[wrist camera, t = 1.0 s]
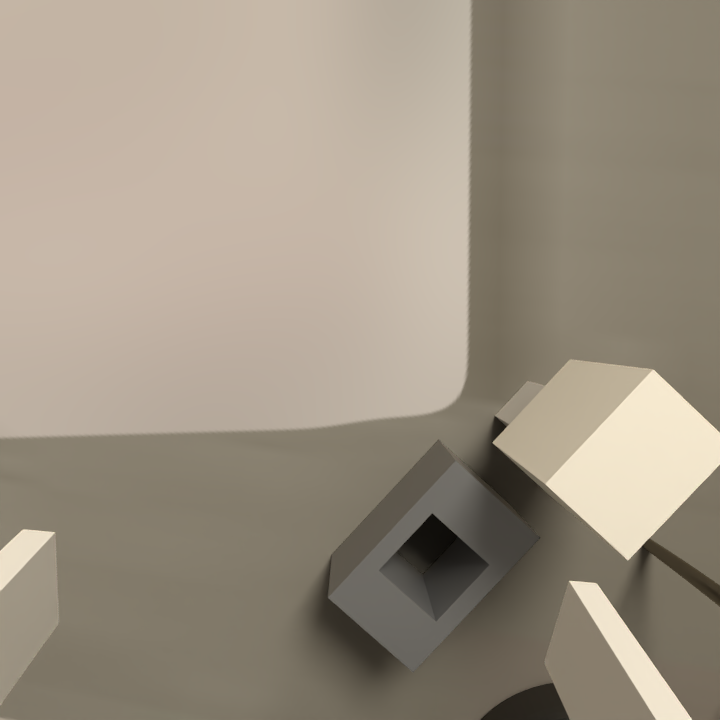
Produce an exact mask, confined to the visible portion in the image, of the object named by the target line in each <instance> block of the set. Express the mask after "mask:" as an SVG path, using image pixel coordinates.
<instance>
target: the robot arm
mask: <svg viewBox="0 0 720 720" xmlns="http://www.w3.org/2000/svg"><path fill="white" fill-rule="evenodd" d="M58 624H59V609H58V585H57V561H56V536H55V532H46V531H35V530H25V529H23V530H22V531H21V532H20V533H19V534H18V535H17V536H15V537H14V538H13V539H12V540H11V541H10V542H9V543H8V544H7V545H6V546H5V547H4V548H3V549H2V550H1V551H0V705H1V704H2V702H3V701H4V699H5V698H6V697H7V695H8V694H9V692H10V691H11V690H12V688H13V687H14V685H15V684H16V683H17V681H18V680H19V678H20V677H21V676H22V674H23V673H24V671H25V670H26V669H27V667H28V666H29V664H30V663H31V662H32V660H33V659H34V657H35V656H36V655H37V653H38V652H39V650H40V649H41V648H42V646H43V645H44V643H45V642H46V641H47V639H48V638H49V636H50V635H51V634H52V632H53V631H54V629H55V628H56V627H57V625H58ZM544 664H545V666H546V668H547V670H548V672H549V675H550V677H551V679H552V681H553V683H552V684H546V685H541V686H538V687H534V688H531V689H528V690H525V691H523V692H521V693H519V694H516V695H514V696H513V697H511V698H509V699H507V700H506V701H504V702H502V703H501V704H500V705H498V706H497V707H495V708H494V709H493V710H492V711H491V712H489V713H488V714H487V715H486V716H485V717H484V718H483V719H482V720H692V719H691V717H690V716H689V715H688V713H687V712H686V710H685V709H684V707H683V706H682V705H681V703H680V702H679V700H678V699H677V697H676V696H675V695H674V693H673V692H672V690H671V689H670V687H669V686H668V685H667V683H666V682H665V680H664V679H663V677H662V676H661V675H660V673H659V672H658V670H657V669H656V667H655V666H654V665H653V663H652V662H651V660H650V659H649V657H648V656H647V655H646V653H645V652H644V650H643V649H642V647H641V646H640V645H639V643H638V642H637V640H636V639H635V637H634V636H633V635H632V633H631V632H630V630H629V629H628V627H627V626H626V625H625V623H624V622H623V620H622V619H621V617H620V616H619V615H618V613H617V612H616V610H615V609H614V607H613V606H612V605H611V603H610V602H609V600H608V599H607V597H606V596H605V595H604V593H603V592H602V590H601V589H600V587H599V586H598V585H597V583H588V582H577V581H569V582H568V585H567V588H566V592H565V595H564V598H563V602H562V605H561V608H560V612H559V615H558V618H557V622H556V625H555V628H554V631H553V635H552V638H551V641H550V645H549V648H548V651H547V655H546V658H545V661H544Z"/></svg>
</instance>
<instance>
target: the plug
mask: <svg viewBox="0 0 720 720" xmlns="http://www.w3.org/2000/svg"><path fill="white" fill-rule="evenodd" d="M495 416H496V417H497V418H498V419H499V420H500V421H501V422H502V423H503V424H504V425H505V426H506V428H505V430H504V431H503V432H502V433H501V434H500V435H499V436H498V437H497V438H496V439H495V440H494V441H493V442H492V443H493V444H494V445H495V446H496V447H497V448H498V449H500V450H501V451H502V452H503V453H504V454H505V455H506V456H507V457H508V458H509V459H510V460H512V461H513V462H514V463H515V464H516V465H517V466H518V467H519V468H520V469H521V470H522V471H524V472H525V473H526V474H527V475H528V476H529V477H530V478H531V479H532V480H533V481H534V482H535V483H537V484H538V485H539V486H540V487H541V488H542V489H543V490H544V491H545V492H546V493H547V494H549V495H550V496H551V497H552V498H553V499H554V500H555V501H556V502H558V503H559V504H560V505H561V506H563V507H564V508H565V509H566V510H567V511H569V512H570V513H571V514H572V515H573V516H575V517H576V518H577V519H578V520H580V521H581V522H582V523H583V524H584V525H586V526H587V527H588V528H589V529H590V530H592V531H593V532H594V533H595V534H597V535H598V536H599V537H600V538H601V539H603V540H604V541H605V542H606V543H607V544H609V545H610V546H611V547H612V548H614V549H615V550H616V551H617V552H618V553H620V554H621V555H622V556H623V557H624V558H626V559H627V560H629V559H630V558H631V557H632V556H633V555H634V554H635V553H636V551H637V550H638V549H639V548H640V547H641V546H642V545H643V544H644V543H645V542H646V541H647V540H648V539H649V538H650V537H651V536H652V535H653V534H654V533H655V532H656V531H657V530H658V528H659V527H660V526H661V525H662V524H663V523H664V522H665V521H666V520H667V519H668V518H669V517H670V516H671V515H672V514H673V513H674V512H675V511H676V510H677V509H678V508H679V507H680V505H681V504H682V503H683V502H684V501H685V500H686V499H687V498H688V497H689V496H690V495H691V494H692V493H693V492H694V491H695V490H696V489H697V488H698V487H699V486H700V485H701V483H702V482H703V481H704V480H705V479H706V478H707V477H708V476H709V475H710V474H711V473H712V472H713V471H714V470H715V469H716V468H717V467H718V466H719V465H720V433H719V432H718V431H717V430H716V429H715V428H714V427H713V426H712V425H711V424H710V423H709V422H708V421H707V420H706V419H705V418H704V417H703V416H702V415H701V414H699V413H698V412H697V411H696V410H695V409H694V408H693V407H692V406H691V405H690V404H689V403H688V402H687V401H686V400H685V399H684V398H683V397H682V396H681V395H680V394H678V393H677V392H676V391H675V390H674V389H673V388H672V387H671V386H670V385H669V384H668V383H667V382H666V381H665V380H664V379H663V378H662V377H661V376H660V375H659V374H657V373H656V372H655V371H654V370H653V369H645V368H637V367H629V366H620V365H612V364H604V363H596V362H587V361H579V360H571V359H570V360H569V361H568V362H567V363H566V364H565V365H564V366H563V368H562V369H561V370H560V371H559V372H558V373H557V374H556V375H555V376H554V377H553V378H552V379H551V380H550V381H549V382H548V384H547V385H546V386H545V385H541V384H537V383H534V382H530V381H527V382H526V383H525V384H524V385H523V386H522V387H521V388H520V390H519V391H518V392H517V393H516V394H515V395H514V396H513V397H512V398H511V399H510V400H509V401H508V402H507V403H506V405H505V406H504V407H503V408H502V409H501V410H500V411H499V412H498V413H497V414H496V415H495Z"/></svg>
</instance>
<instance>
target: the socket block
mask: <svg viewBox="0 0 720 720" xmlns="http://www.w3.org/2000/svg"><path fill="white" fill-rule="evenodd" d="M432 513H433V514H434V515H435V516H436V517H437V518H438V519H439V520H440V521H441V522H442V523H444V524H445V525H446V526H447V527H448V528H449V529H450V530H451V531H452V532H454V533H455V534H456V535H457V536H458V538H457V539H456V540H455V541H454V542H453V543H452V544H451V545H450V546H449V547H448V548H447V549H446V550H445V551H444V552H443V553H442V555H441V556H440V557H439V558H438V559H437V560H436V561H435V562H434V563H433V564H432V565H431V566H430V567H429V568H428V569H427V571H426V572H425V573H424V574H423V575H422V574H421V573H420V572H419V571H418V570H416V569H415V568H414V567H413V566H412V565H411V564H410V563H409V562H407V561H406V560H405V559H404V558H403V557H402V556H401V555H400V554H398V553H397V552H396V551H397V550H398V549H399V548H400V547H401V546H402V545H403V544H404V543H405V542H406V541H407V540H408V539H409V537H410V536H411V535H412V534H413V533H414V532H415V531H416V530H417V529H418V528H419V527H420V526H421V525H422V524H423V522H424V521H425V520H426V519H427V518H428V517H429V516H430V515H431V514H432ZM539 539H540V537H539V536H538V535H537V534H536V533H535V531H534V530H533V529H532V528H531V527H530V526H529V525H528V524H527V523H526V522H525V521H524V520H523V518H522V517H521V516H520V515H519V514H518V513H517V512H516V511H515V510H514V509H513V508H512V506H511V505H510V504H509V503H507V502H506V501H505V500H504V499H503V498H502V497H501V496H500V495H499V494H498V493H497V492H495V491H494V490H493V489H492V488H491V487H490V486H489V485H488V484H487V483H486V482H484V481H483V480H482V479H481V478H480V477H479V476H478V475H477V474H476V473H475V472H474V471H472V470H471V469H470V468H469V467H468V466H467V465H466V464H465V463H464V462H463V461H461V460H460V459H459V458H458V457H457V456H456V455H455V454H454V453H453V452H452V451H451V450H449V449H448V448H447V447H446V446H445V445H444V444H443V443H442V442H441V441H440V440H438V441H437V442H436V443H435V444H434V445H433V446H432V447H431V448H430V450H429V451H428V452H427V453H426V454H425V455H424V456H423V457H422V458H421V459H420V460H419V461H418V462H417V464H416V465H415V466H414V467H413V468H412V469H411V470H410V471H409V472H408V473H407V474H406V475H405V476H404V477H403V479H402V480H401V481H400V482H399V483H398V484H397V485H396V486H395V487H394V488H393V489H392V490H391V491H390V493H389V494H388V495H387V496H386V497H385V498H384V499H383V500H382V501H381V502H380V503H379V504H378V505H377V507H376V508H375V509H374V510H373V511H372V512H371V513H370V514H369V515H368V516H367V517H366V518H365V519H364V521H363V522H362V523H361V524H360V525H359V526H358V527H357V528H356V529H355V530H354V531H353V532H352V533H351V534H350V536H349V537H348V538H347V539H346V540H345V541H344V542H343V543H342V544H341V545H340V546H339V547H338V548H337V550H336V551H335V552H334V553H333V554H332V558H331V569H330V580H329V591H328V598H329V599H330V600H331V601H332V602H333V603H334V604H336V605H337V606H338V607H339V608H340V609H341V610H342V611H344V612H345V613H346V614H347V615H348V616H349V617H350V618H352V619H353V620H354V621H355V622H356V623H357V624H358V625H360V626H361V627H362V628H363V629H364V630H365V631H366V632H367V633H369V634H370V635H371V636H372V637H373V638H374V639H375V640H377V641H378V642H379V643H380V644H381V645H382V646H383V647H385V648H386V649H387V650H388V651H389V652H390V653H391V654H393V655H394V656H395V657H396V658H397V659H398V660H399V661H401V662H402V663H403V664H404V665H405V666H406V667H407V668H409V669H410V670H411V671H412V672H414V671H415V670H416V669H417V668H418V667H419V666H420V664H421V663H422V662H423V661H424V660H425V659H426V658H427V657H428V656H429V655H430V654H431V653H432V652H433V651H434V650H435V649H436V648H437V647H438V645H439V644H440V643H441V642H442V641H443V640H444V639H445V638H446V637H447V636H448V635H449V634H450V633H451V632H452V631H453V630H454V629H455V628H456V626H457V625H458V624H459V623H460V622H461V621H462V620H463V619H464V618H465V617H466V616H467V615H468V614H469V613H470V612H471V611H472V610H473V608H474V607H475V606H476V605H477V604H478V603H479V602H480V601H481V600H482V599H483V598H484V597H485V596H486V595H487V594H488V593H489V592H490V591H491V589H492V588H493V587H494V586H495V585H496V584H497V583H498V582H499V581H500V580H501V579H502V578H503V577H504V576H505V575H506V574H507V573H508V572H509V570H510V569H511V568H512V567H513V566H514V565H515V564H516V563H517V562H518V561H519V560H520V559H521V558H522V557H523V556H524V555H525V554H526V552H527V551H528V550H529V549H530V548H531V547H532V546H533V545H534V544H535V543H536V542H537V541H538V540H539Z"/></svg>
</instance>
